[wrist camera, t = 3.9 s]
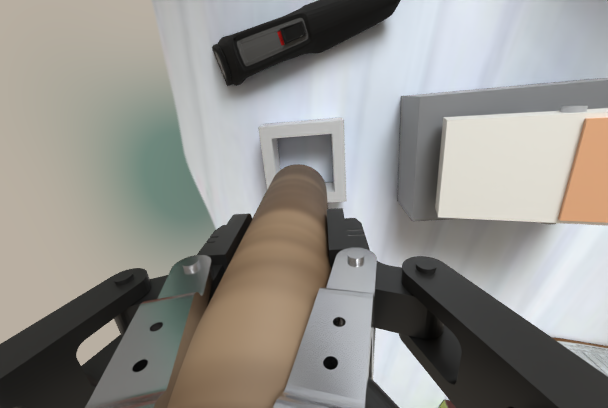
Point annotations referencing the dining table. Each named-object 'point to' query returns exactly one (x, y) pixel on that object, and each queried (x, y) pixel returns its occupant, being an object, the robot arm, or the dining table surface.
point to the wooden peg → (261, 301)
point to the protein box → (447, 404)
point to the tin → (588, 353)
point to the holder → (306, 128)
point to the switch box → (502, 100)
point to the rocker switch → (526, 167)
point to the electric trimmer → (297, 35)
